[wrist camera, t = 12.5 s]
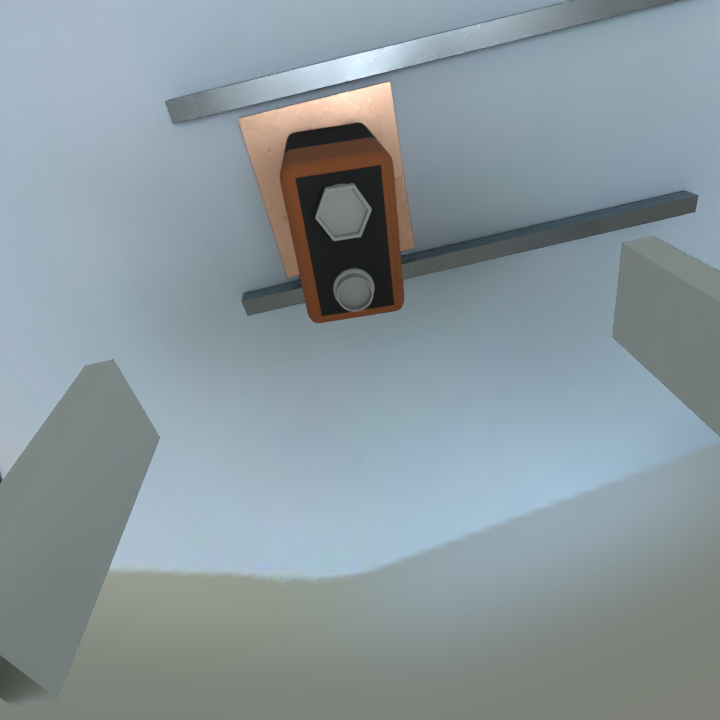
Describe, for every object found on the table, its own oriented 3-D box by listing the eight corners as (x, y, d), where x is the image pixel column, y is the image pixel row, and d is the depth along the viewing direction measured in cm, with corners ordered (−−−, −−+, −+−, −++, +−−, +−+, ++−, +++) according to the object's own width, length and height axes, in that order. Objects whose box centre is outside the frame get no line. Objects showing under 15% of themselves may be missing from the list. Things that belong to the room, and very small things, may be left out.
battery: (366, 120, 25) (398, 153, 17) (379, 244, 29) (410, 322, 20) (284, 132, 25) (274, 172, 16) (308, 255, 29) (310, 338, 20)
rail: (681, 206, 30) (695, 211, 29) (249, 307, 30) (247, 315, 29) (724, -38, 23) (743, -42, 22) (171, 99, 24) (165, 101, 23)
